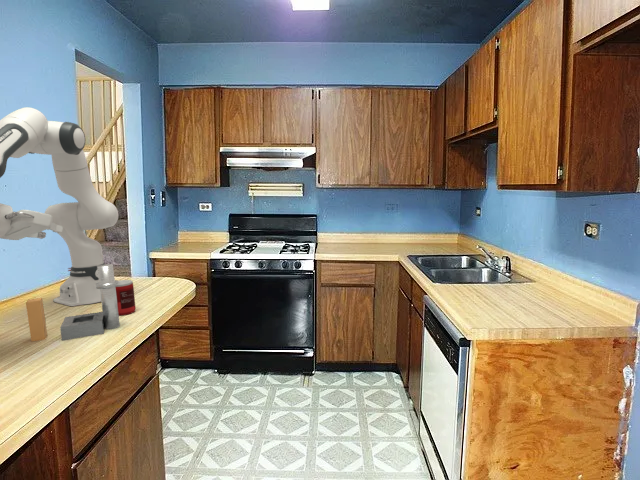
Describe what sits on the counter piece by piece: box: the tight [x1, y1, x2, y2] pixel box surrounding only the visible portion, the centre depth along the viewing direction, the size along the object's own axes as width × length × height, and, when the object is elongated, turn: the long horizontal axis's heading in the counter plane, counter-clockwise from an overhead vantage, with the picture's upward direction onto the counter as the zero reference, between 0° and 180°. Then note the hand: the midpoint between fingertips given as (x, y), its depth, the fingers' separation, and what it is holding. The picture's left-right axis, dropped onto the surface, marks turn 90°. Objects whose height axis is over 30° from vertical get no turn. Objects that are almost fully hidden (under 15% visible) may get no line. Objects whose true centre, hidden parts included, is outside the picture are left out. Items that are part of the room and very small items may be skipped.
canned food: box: [116, 279, 137, 317], centre depth 149 cm, size 8×8×11 cm
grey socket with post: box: [59, 263, 121, 341], centre depth 131 cm, size 16×11×20 cm
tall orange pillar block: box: [25, 297, 48, 343], centre depth 126 cm, size 4×4×12 cm
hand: (52, 232), depth 123 cm, fingers open, 8 cm apart
